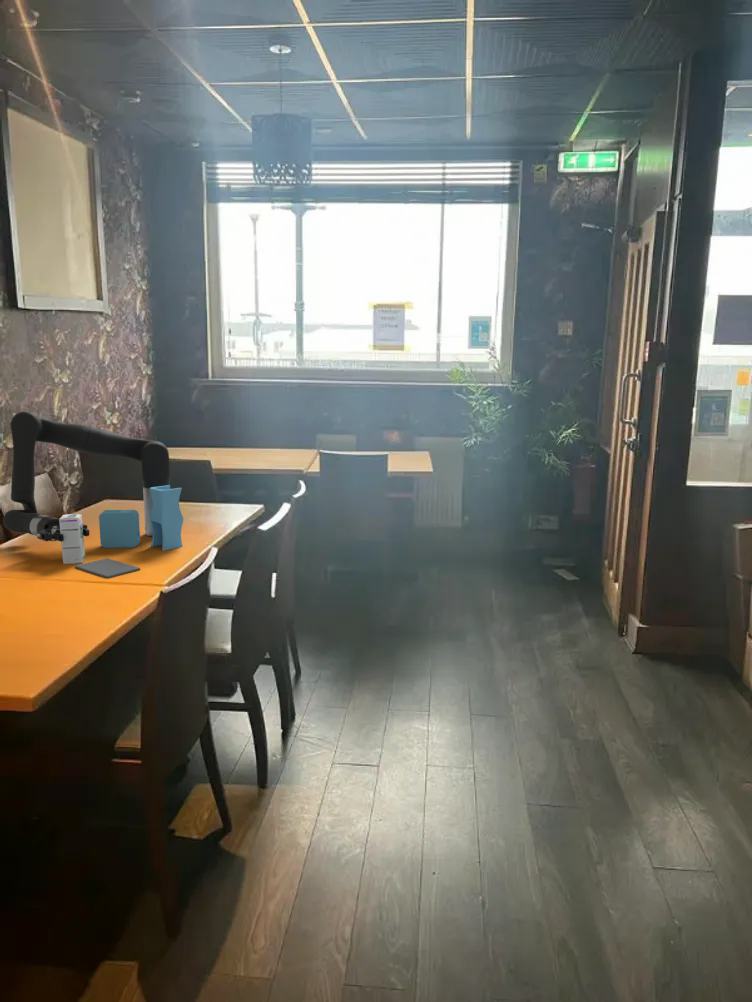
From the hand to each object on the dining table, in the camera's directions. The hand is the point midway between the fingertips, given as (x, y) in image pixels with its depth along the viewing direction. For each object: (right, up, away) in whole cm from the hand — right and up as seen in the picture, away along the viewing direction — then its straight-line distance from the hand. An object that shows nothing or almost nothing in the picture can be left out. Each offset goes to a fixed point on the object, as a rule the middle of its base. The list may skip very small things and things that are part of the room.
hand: (75, 535), depth 226 cm
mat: (+12, -10, -5) cm, 16 cm away
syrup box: (-2, -8, +3) cm, 9 cm away
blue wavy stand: (+22, -5, +22) cm, 31 cm away
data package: (+6, -5, +21) cm, 23 cm away
